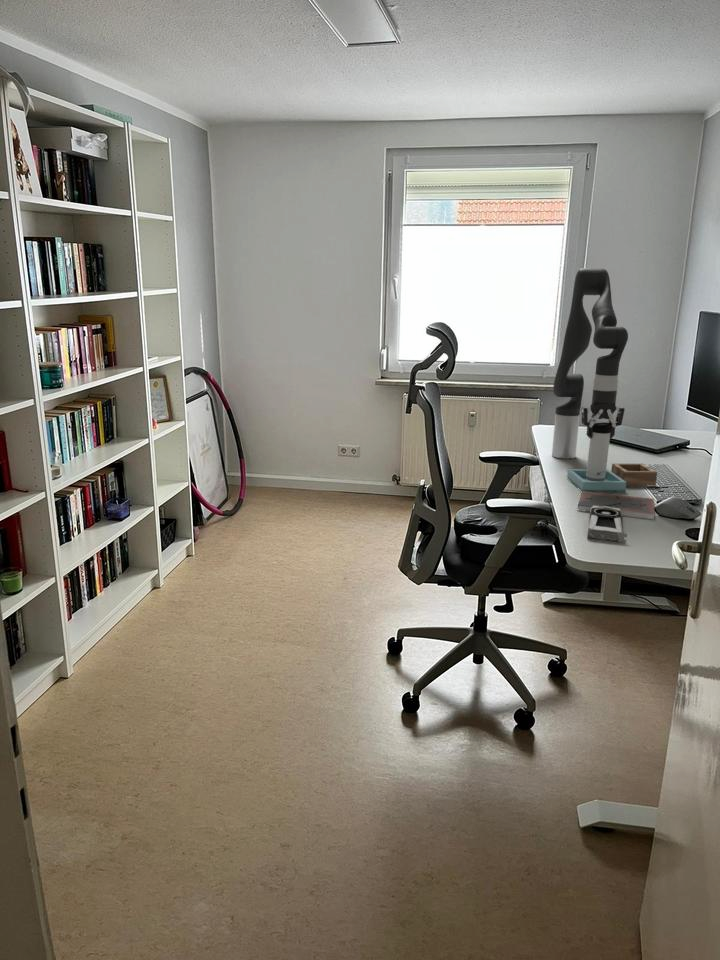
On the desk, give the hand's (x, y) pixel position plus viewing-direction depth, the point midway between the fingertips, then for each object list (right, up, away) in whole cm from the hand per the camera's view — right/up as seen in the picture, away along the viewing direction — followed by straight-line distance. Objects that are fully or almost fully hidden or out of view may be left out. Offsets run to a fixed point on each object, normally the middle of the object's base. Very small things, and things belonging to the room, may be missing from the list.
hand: (600, 437), depth 230 cm
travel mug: (0, -14, +4) cm, 15 cm away
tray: (0, -16, +4) cm, 17 cm away
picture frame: (-2, -24, -18) cm, 30 cm away
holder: (+15, -15, +10) cm, 23 cm away
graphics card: (-11, -28, -36) cm, 47 cm away
